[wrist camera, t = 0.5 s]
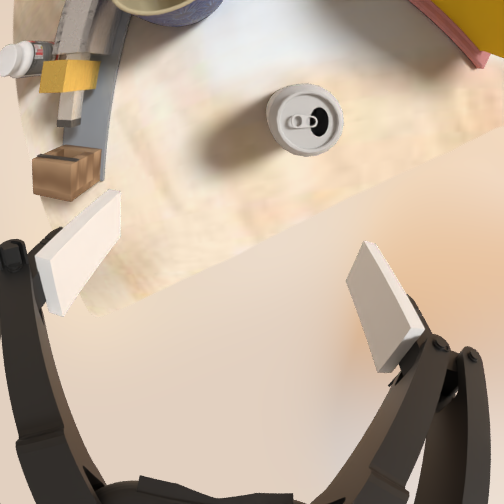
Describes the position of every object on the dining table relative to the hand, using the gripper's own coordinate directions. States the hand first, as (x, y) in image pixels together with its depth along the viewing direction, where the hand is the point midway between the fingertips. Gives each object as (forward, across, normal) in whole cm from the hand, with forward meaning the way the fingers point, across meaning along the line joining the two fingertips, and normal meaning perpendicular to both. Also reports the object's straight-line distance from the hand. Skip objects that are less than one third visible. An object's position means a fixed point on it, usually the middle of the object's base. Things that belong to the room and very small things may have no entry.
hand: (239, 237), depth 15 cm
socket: (+26, -25, -6) cm, 36 cm away
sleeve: (+26, -24, +14) cm, 38 cm away
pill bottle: (+26, -34, +11) cm, 45 cm away
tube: (+24, -24, +11) cm, 36 cm away
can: (+26, +4, +6) cm, 27 cm away
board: (+26, -24, +5) cm, 36 cm away
